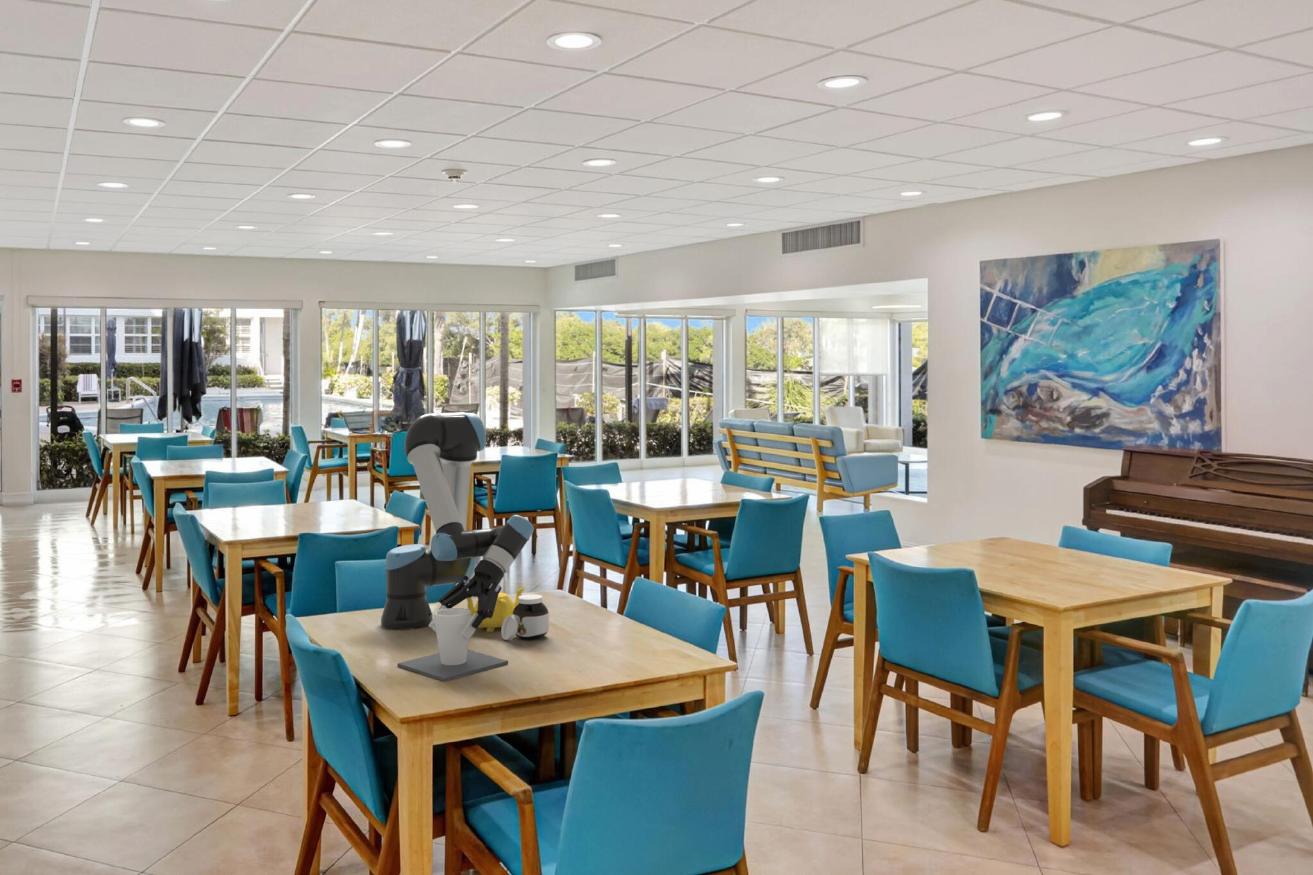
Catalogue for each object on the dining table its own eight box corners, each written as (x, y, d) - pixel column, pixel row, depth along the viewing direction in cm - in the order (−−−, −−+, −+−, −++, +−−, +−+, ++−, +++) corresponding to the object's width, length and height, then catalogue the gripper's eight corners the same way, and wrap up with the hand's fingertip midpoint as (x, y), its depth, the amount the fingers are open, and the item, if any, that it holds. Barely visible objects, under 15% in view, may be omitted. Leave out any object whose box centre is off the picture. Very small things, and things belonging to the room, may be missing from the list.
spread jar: (553, 636, 293) (552, 596, 292) (528, 645, 283) (528, 603, 283) (520, 631, 299) (519, 591, 298) (495, 640, 289) (494, 599, 289)
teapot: (474, 638, 291) (473, 598, 290) (454, 628, 304) (454, 589, 303) (538, 628, 302) (537, 590, 301) (516, 619, 314) (515, 582, 314)
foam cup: (445, 669, 258) (444, 617, 257) (428, 661, 265) (427, 611, 264) (478, 662, 264) (477, 612, 263) (461, 655, 271) (460, 606, 270)
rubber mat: (397, 666, 264) (397, 663, 264) (460, 650, 278) (460, 647, 278) (444, 681, 250) (444, 678, 250) (508, 663, 265) (507, 660, 265)
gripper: (531, 581, 267) (486, 649, 256) (472, 569, 283) (428, 633, 273) (515, 563, 262) (469, 633, 252) (456, 552, 279) (411, 617, 269)
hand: (447, 633), depth 263 cm, fingers open, 13 cm apart
